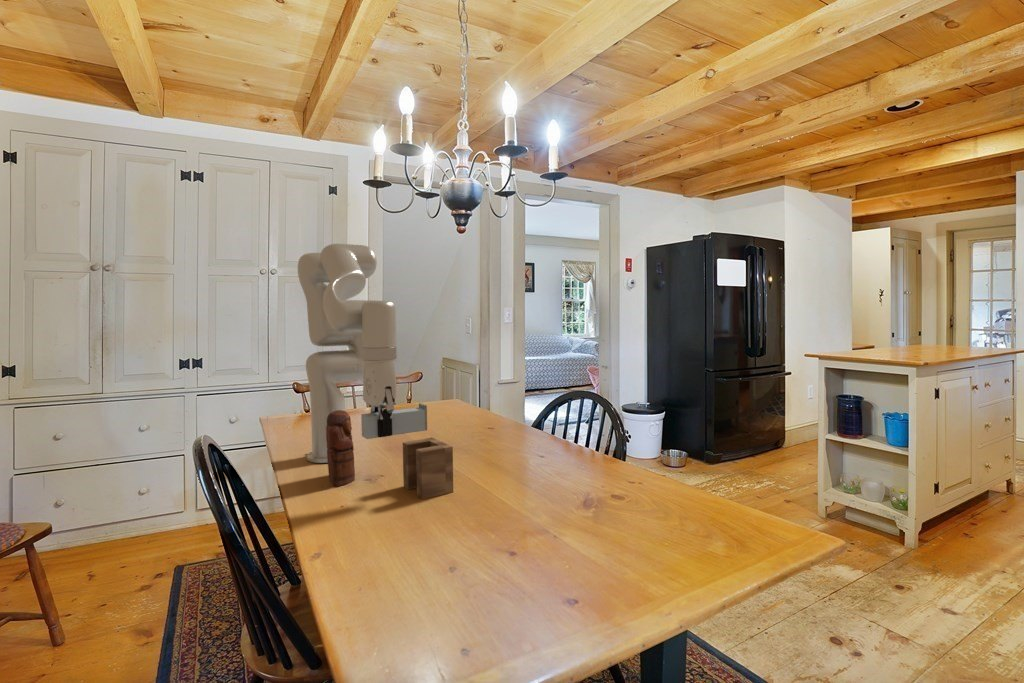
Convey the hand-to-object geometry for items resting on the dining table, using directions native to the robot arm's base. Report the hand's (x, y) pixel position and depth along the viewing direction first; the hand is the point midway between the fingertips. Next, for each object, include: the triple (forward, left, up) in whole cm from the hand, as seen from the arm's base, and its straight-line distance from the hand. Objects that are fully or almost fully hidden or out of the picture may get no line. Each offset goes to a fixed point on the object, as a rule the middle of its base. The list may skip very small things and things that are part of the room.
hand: (381, 433), depth 118 cm
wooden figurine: (-19, -4, -15) cm, 25 cm away
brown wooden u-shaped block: (+1, +11, -15) cm, 19 cm away
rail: (0, +3, 0) cm, 3 cm away
